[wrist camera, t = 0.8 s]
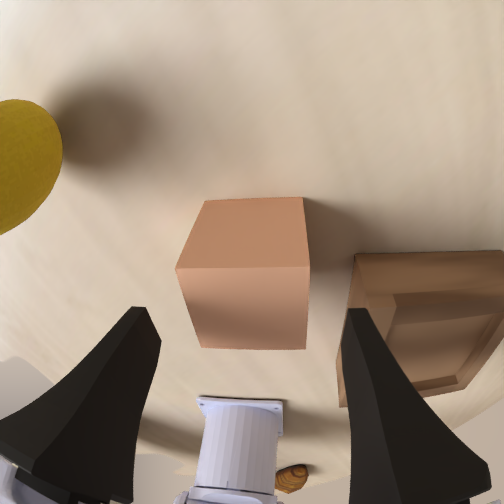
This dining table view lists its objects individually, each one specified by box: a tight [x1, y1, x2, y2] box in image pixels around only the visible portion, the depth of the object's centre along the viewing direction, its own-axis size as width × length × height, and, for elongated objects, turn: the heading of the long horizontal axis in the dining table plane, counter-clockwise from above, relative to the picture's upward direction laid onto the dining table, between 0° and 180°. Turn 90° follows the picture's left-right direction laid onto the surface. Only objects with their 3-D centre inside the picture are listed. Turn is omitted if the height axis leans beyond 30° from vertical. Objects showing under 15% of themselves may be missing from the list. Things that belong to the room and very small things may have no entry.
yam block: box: [175, 197, 310, 350], centre depth 13 cm, size 4×4×5 cm
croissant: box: [275, 465, 309, 494], centre depth 43 cm, size 14×7×5 cm, turn 169°
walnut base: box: [336, 250, 504, 408], centre depth 16 cm, size 10×10×4 cm
